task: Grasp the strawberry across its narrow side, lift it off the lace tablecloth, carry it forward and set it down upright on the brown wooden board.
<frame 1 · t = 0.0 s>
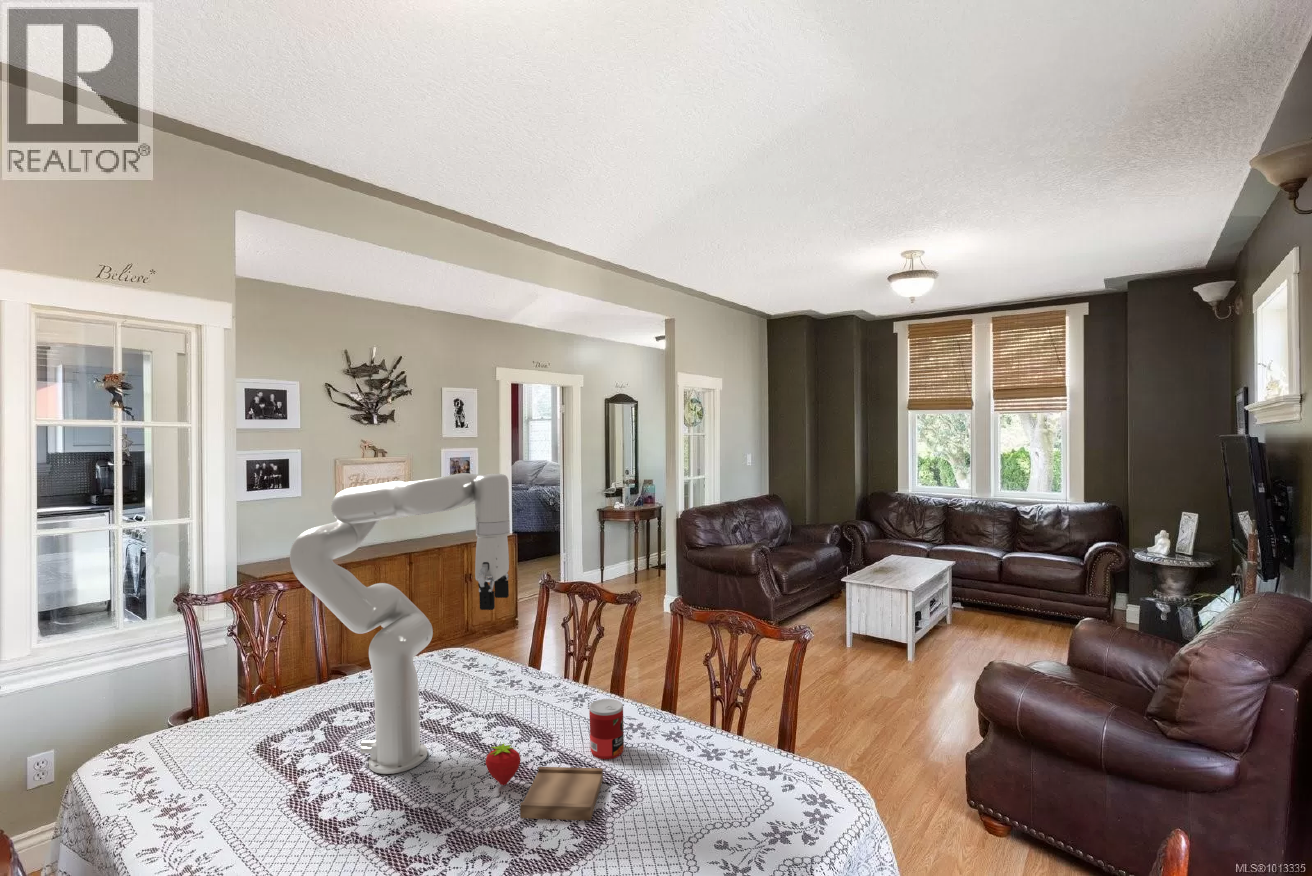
hand: (494, 603, 145), 37 cm above the table, tool pointing down, fingers open, 9 cm apart
strawberry: (503, 786, 136), on the table
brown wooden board: (563, 798, 131), on the table
canned food: (607, 752, 149), on the table
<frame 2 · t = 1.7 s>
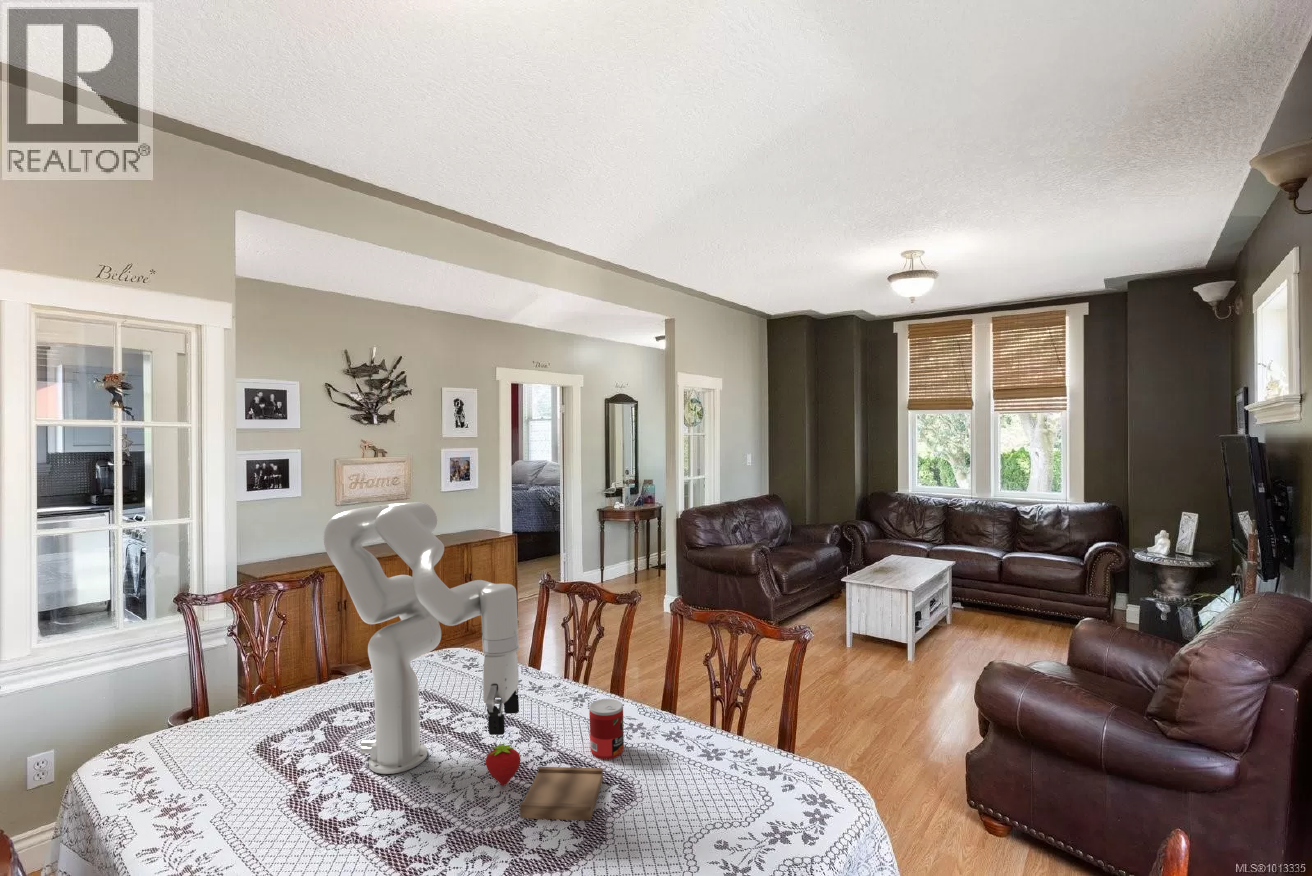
hand: (504, 723, 135), 14 cm above the table, tool pointing down, fingers open, 9 cm apart
nothing on the table moved.
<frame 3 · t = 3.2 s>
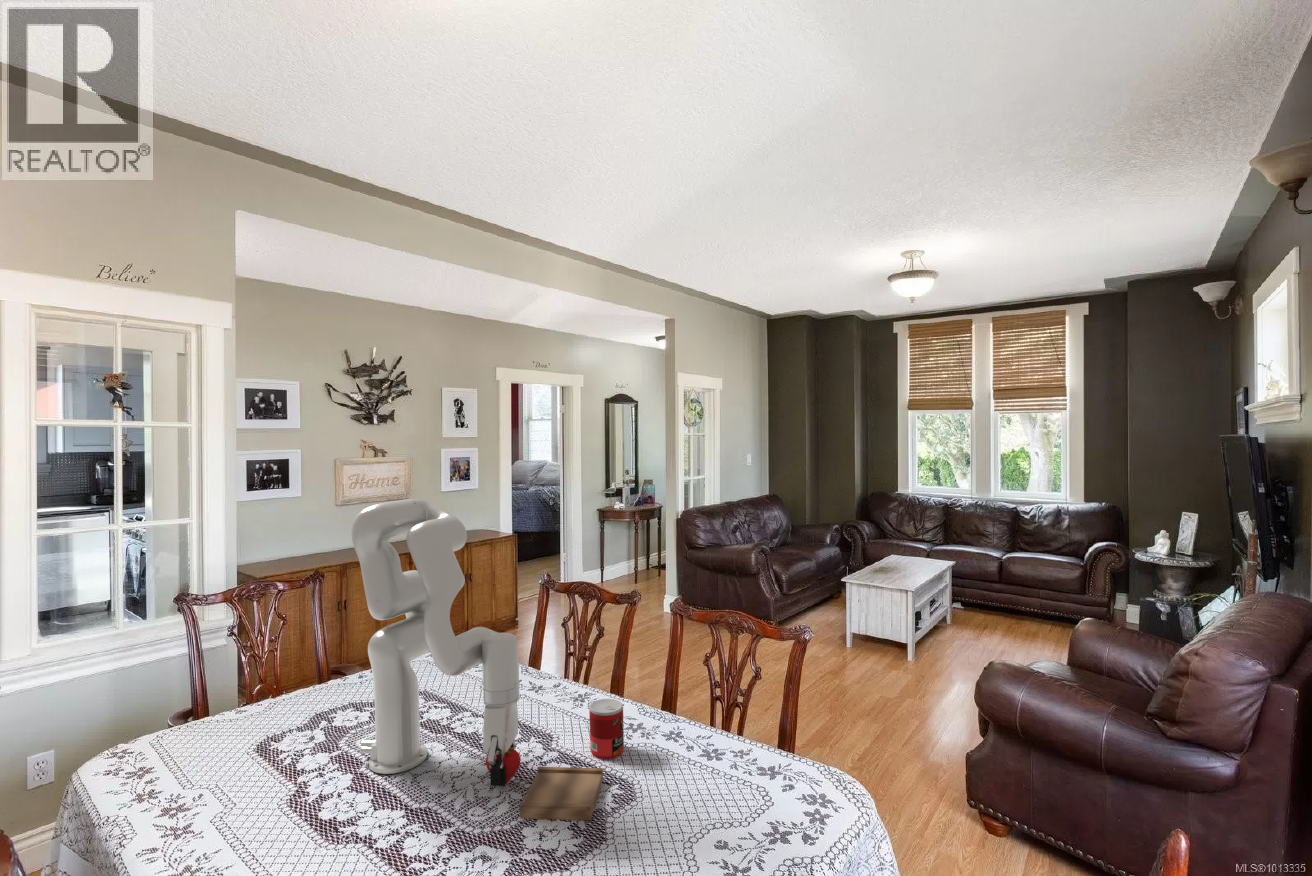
hand: (503, 775, 136), 2 cm above the table, tool pointing down, fingers closed on strawberry, 5 cm apart
strawberry: (503, 786, 136), on the table, touching gripper
everything else where it was.
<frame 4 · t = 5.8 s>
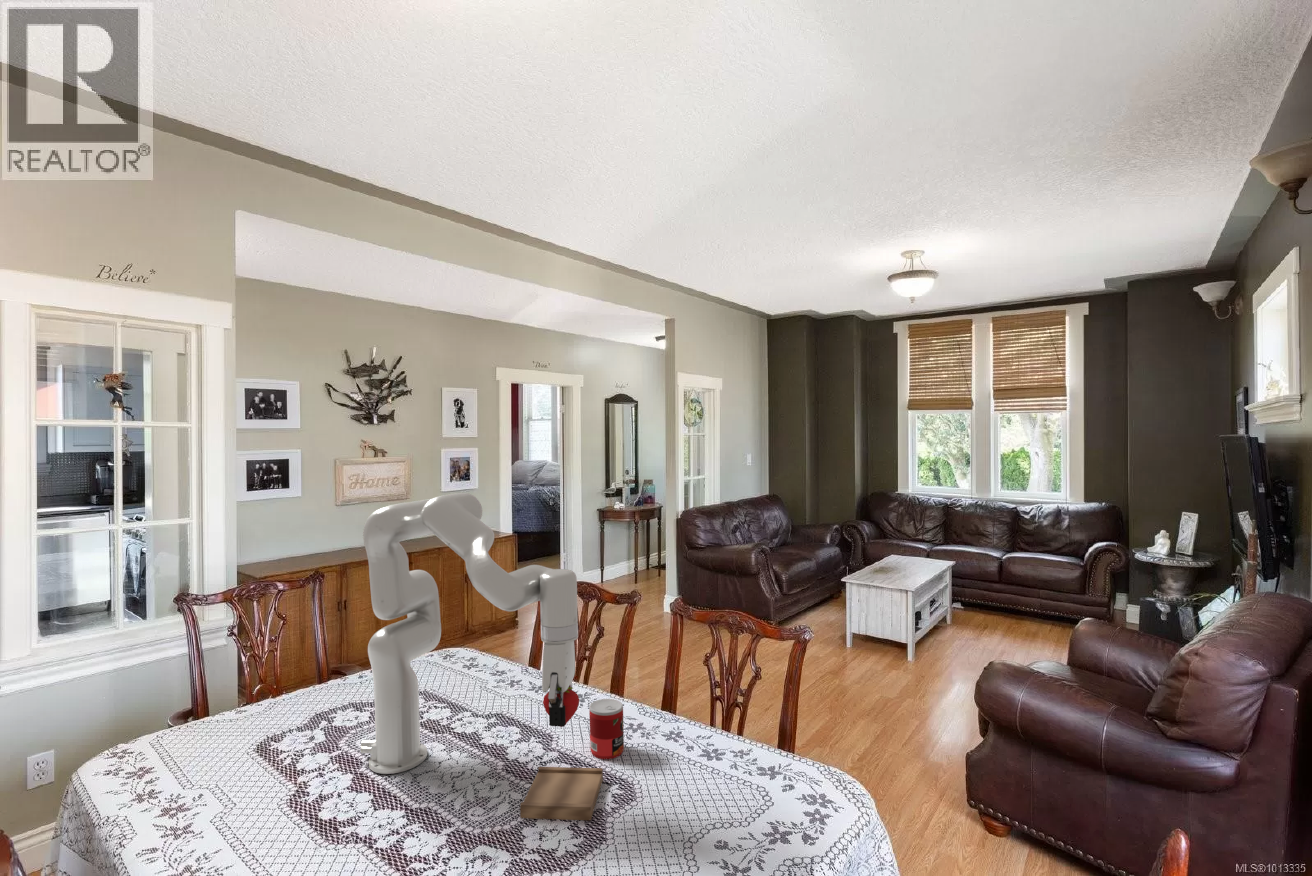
hand: (561, 717, 131), 17 cm above the table, tool pointing down, fingers closed on strawberry, 5 cm apart
strawberry: (561, 728, 131), point 15 cm above the table, touching gripper
everything else where it was.
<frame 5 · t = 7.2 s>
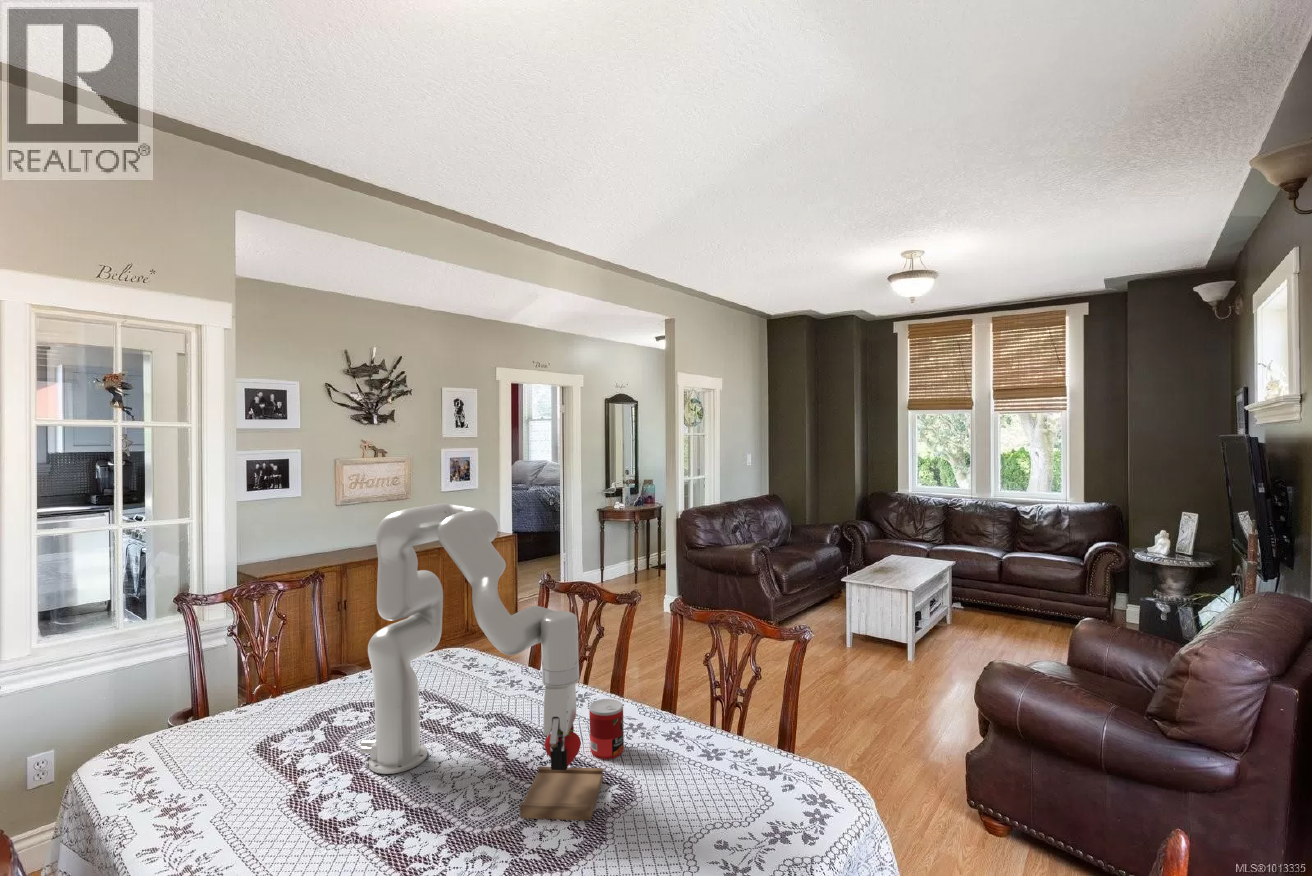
hand: (563, 759, 131), 8 cm above the table, tool pointing down, fingers closed on strawberry, 5 cm apart
strawberry: (563, 770, 131), point 6 cm above the table, touching gripper
everything else where it was.
when the fingers open (5 cm above the table, at t = 8.3 s): strawberry stays where it is, resting on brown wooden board.
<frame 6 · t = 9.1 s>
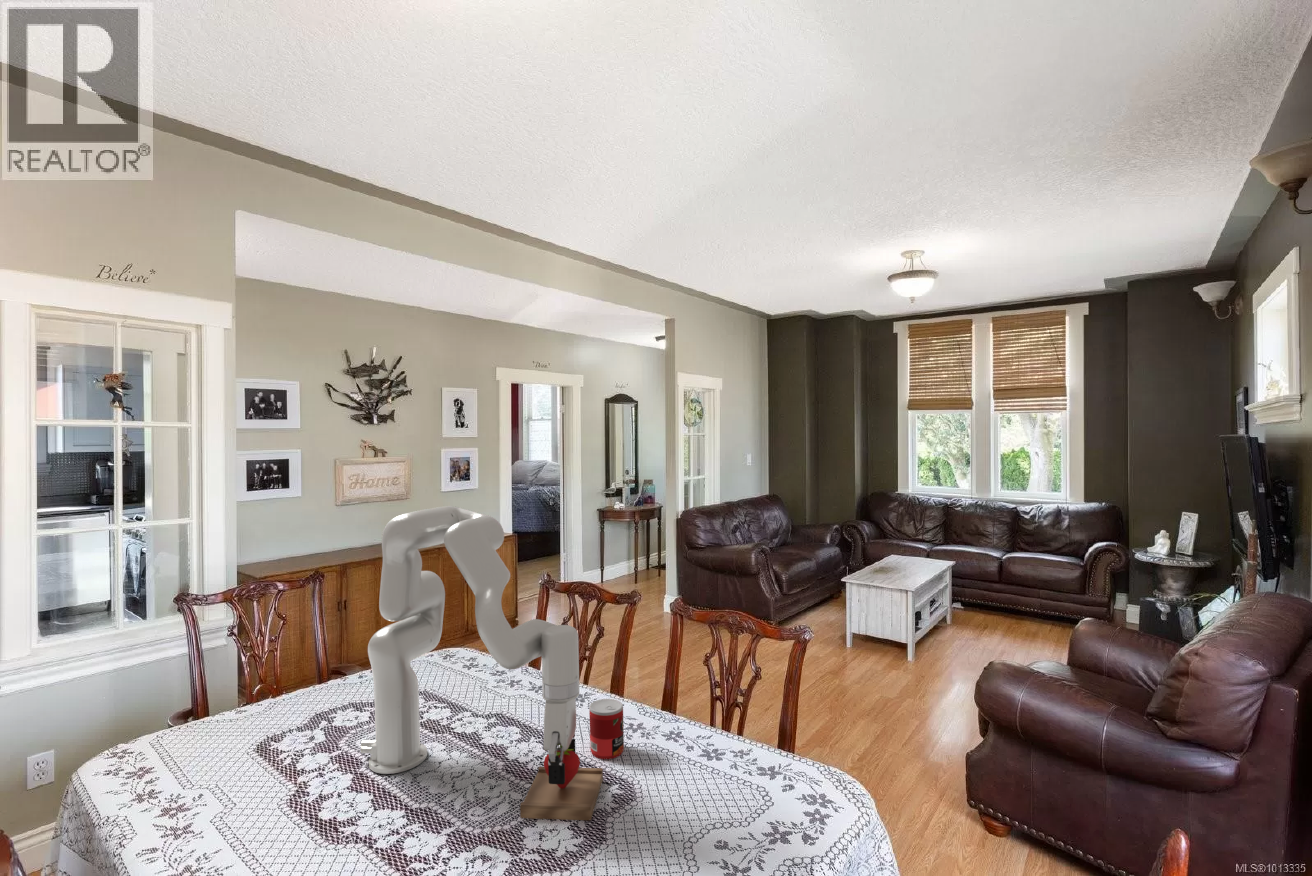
hand: (562, 770, 131), 6 cm above the table, tool pointing down, fingers open, 9 cm apart
strawberry: (562, 789, 131), point 2 cm above the table, touching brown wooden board
everything else where it was.
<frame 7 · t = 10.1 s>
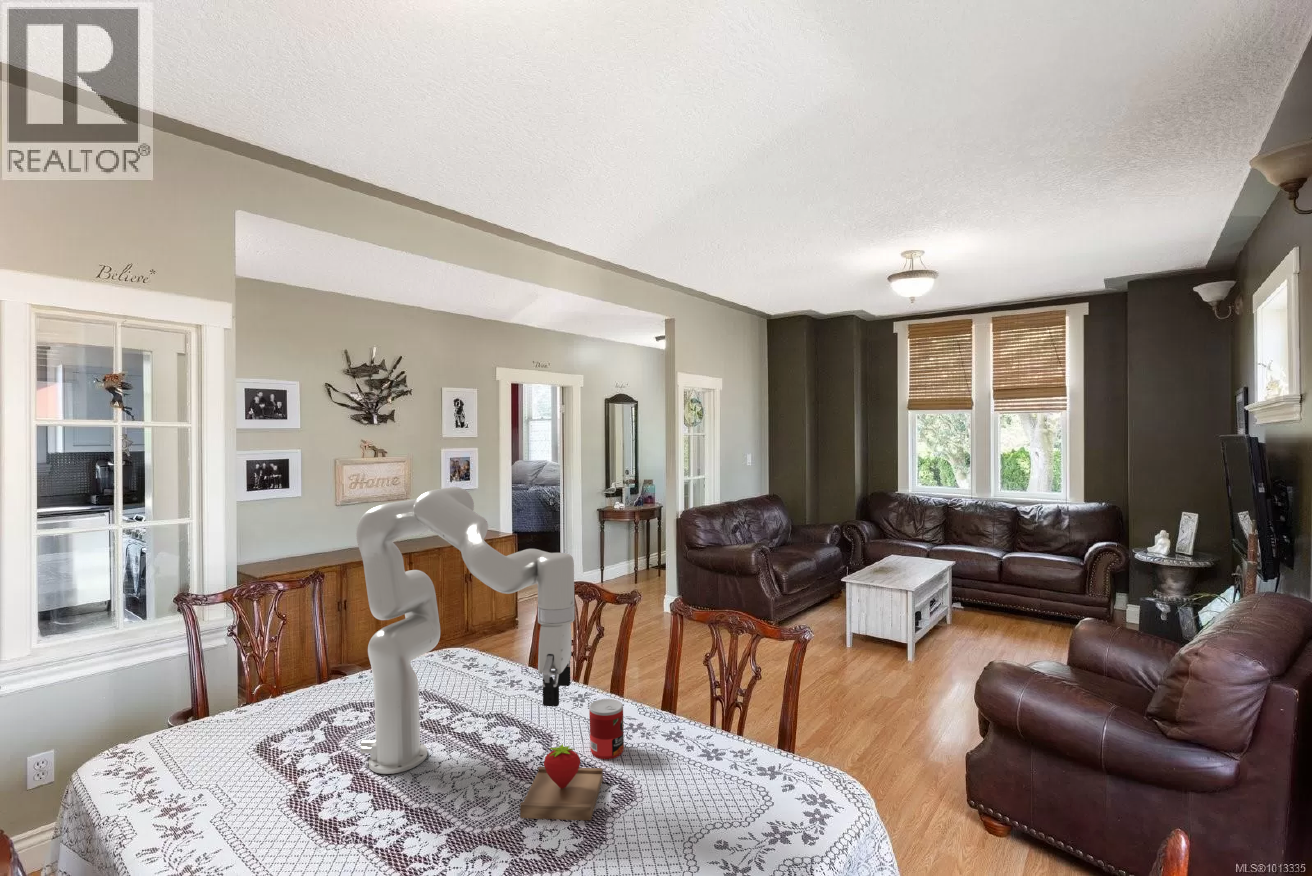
hand: (557, 695, 132), 21 cm above the table, tool pointing down, fingers open, 9 cm apart
nothing on the table moved.
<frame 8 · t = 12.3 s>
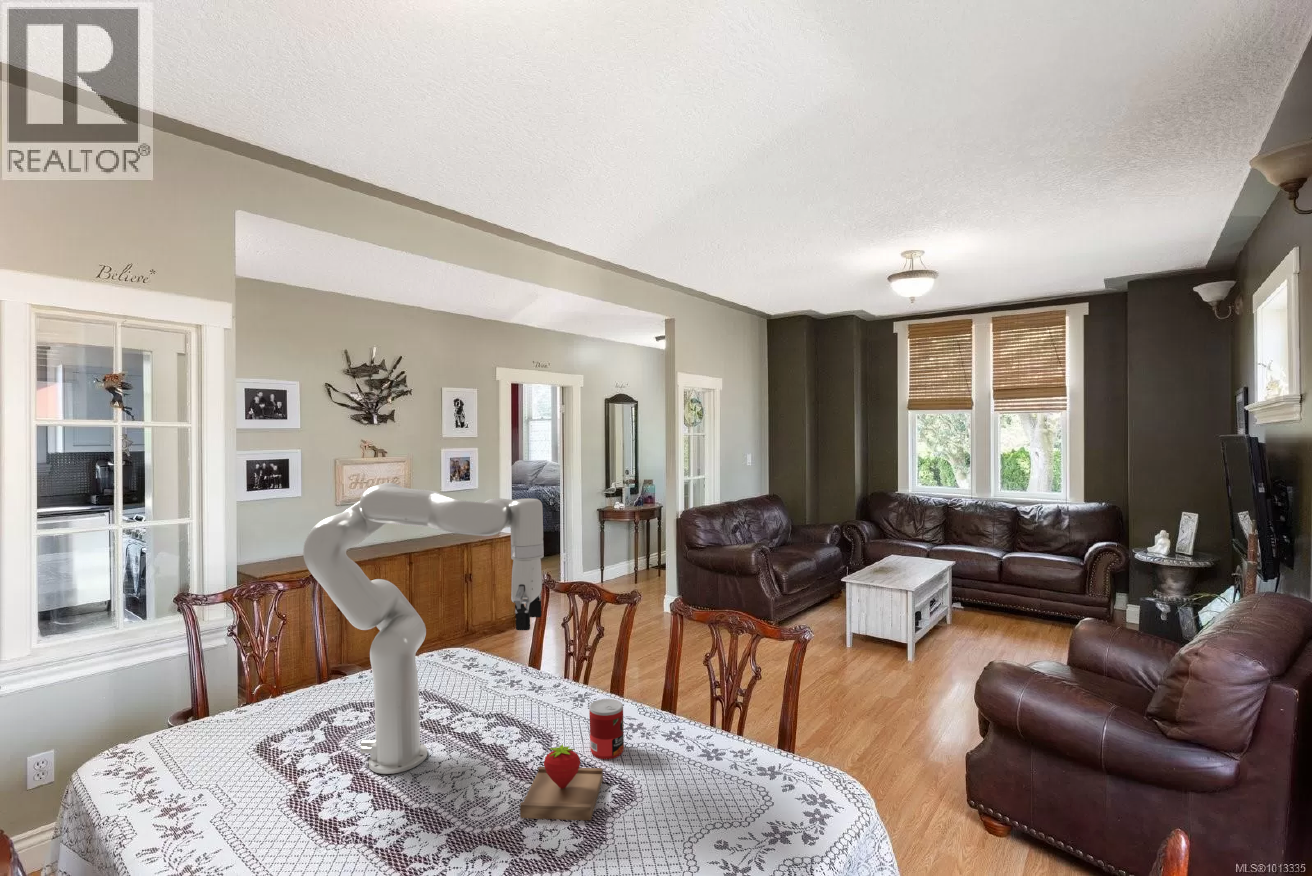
hand: (529, 623, 150), 30 cm above the table, tool pointing down, fingers open, 9 cm apart
nothing on the table moved.
at the end: strawberry inside the target area on the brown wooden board (0.2 cm from its centre), point 1.8 cm above the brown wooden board's base; strawberry tilted 0°; the gripper is holding nothing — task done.
